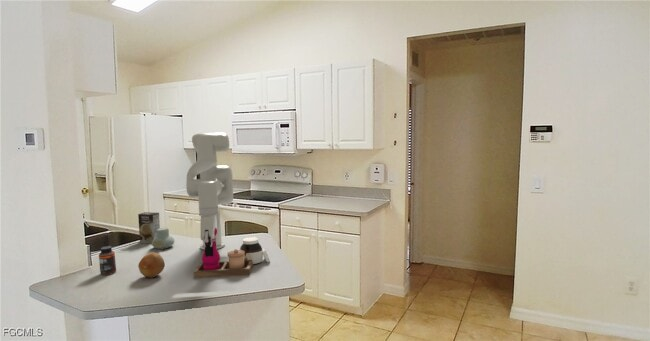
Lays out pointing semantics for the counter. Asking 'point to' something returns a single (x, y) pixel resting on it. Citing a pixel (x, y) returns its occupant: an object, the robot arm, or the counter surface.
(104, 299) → the counter surface
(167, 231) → the air freshener
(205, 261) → the pepper mill
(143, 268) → the onion
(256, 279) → the counter surface
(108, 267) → the supplement bottle
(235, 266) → the salt crock
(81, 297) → the counter surface
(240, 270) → the caddy
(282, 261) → the counter surface
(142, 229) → the coffee box
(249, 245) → the spread jar
